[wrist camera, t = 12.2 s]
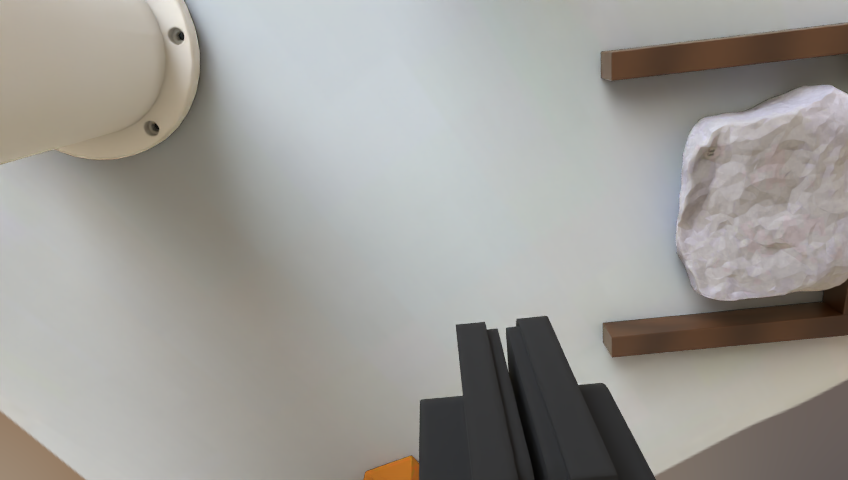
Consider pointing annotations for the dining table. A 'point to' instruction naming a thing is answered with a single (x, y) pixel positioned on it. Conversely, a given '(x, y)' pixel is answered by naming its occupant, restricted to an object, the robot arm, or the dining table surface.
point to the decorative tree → (395, 470)
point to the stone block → (767, 197)
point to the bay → (835, 316)
